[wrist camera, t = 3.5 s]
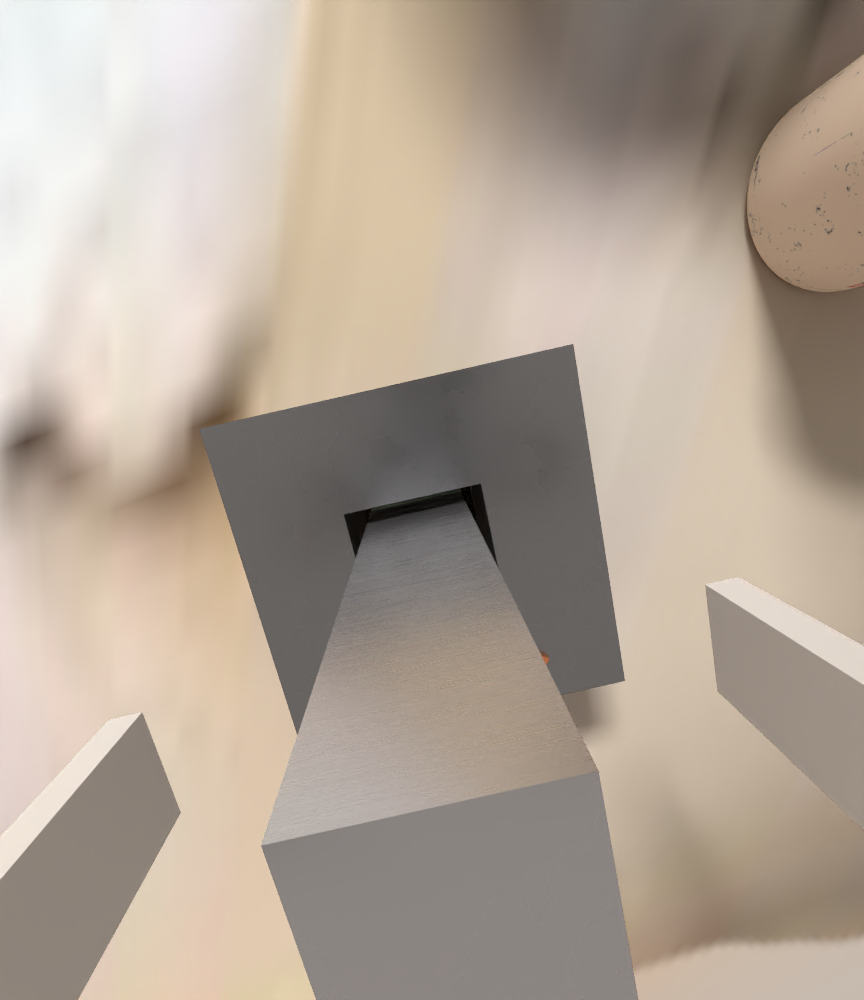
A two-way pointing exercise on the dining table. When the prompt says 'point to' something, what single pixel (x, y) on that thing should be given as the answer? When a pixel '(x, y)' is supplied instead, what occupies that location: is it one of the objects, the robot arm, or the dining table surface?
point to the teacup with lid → (814, 188)
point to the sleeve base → (416, 473)
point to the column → (443, 791)
